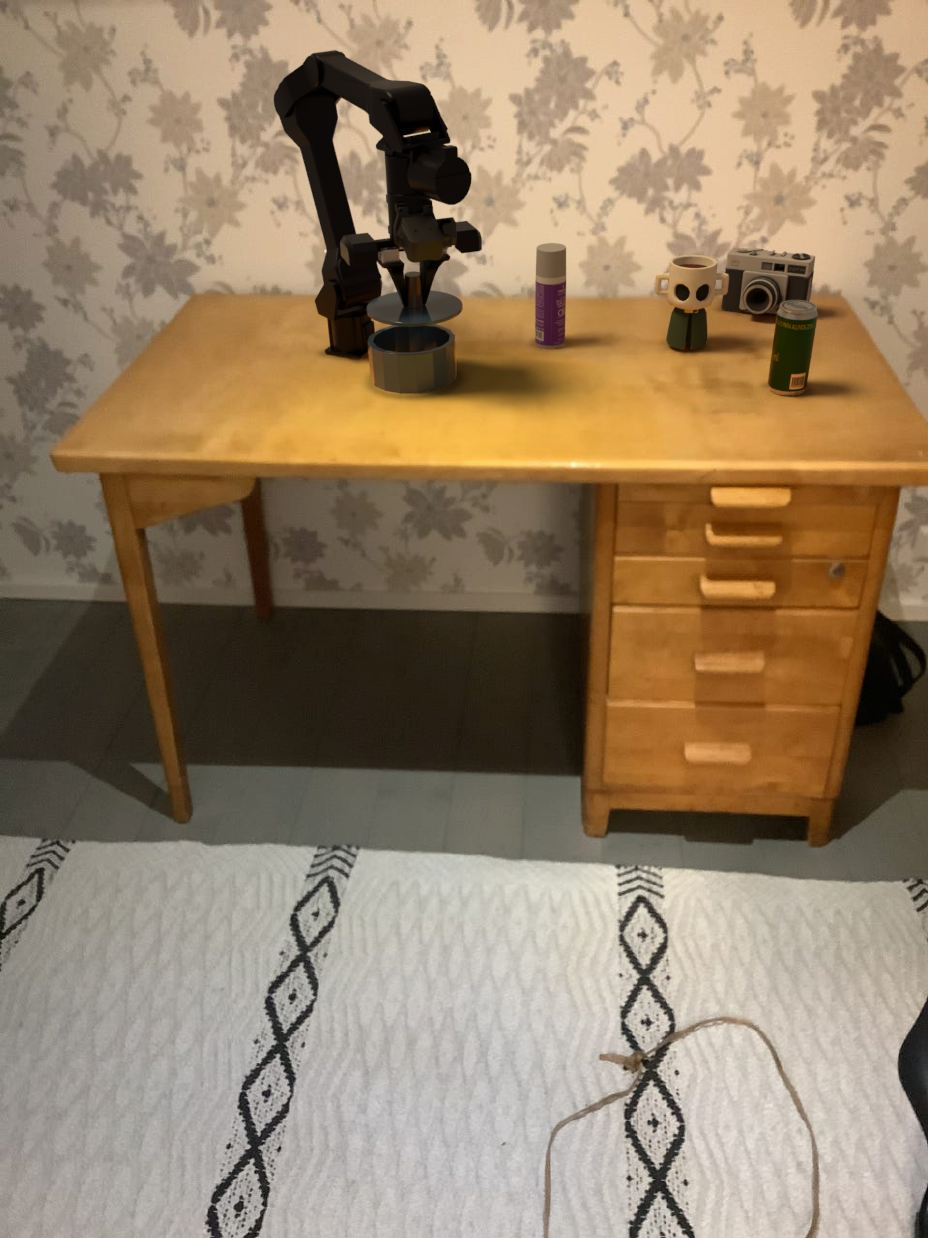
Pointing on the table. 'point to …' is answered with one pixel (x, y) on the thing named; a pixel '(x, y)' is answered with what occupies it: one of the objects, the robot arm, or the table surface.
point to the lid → (414, 305)
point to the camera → (766, 280)
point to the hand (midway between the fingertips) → (414, 304)
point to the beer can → (792, 347)
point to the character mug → (690, 297)
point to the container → (550, 295)
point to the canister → (412, 358)
